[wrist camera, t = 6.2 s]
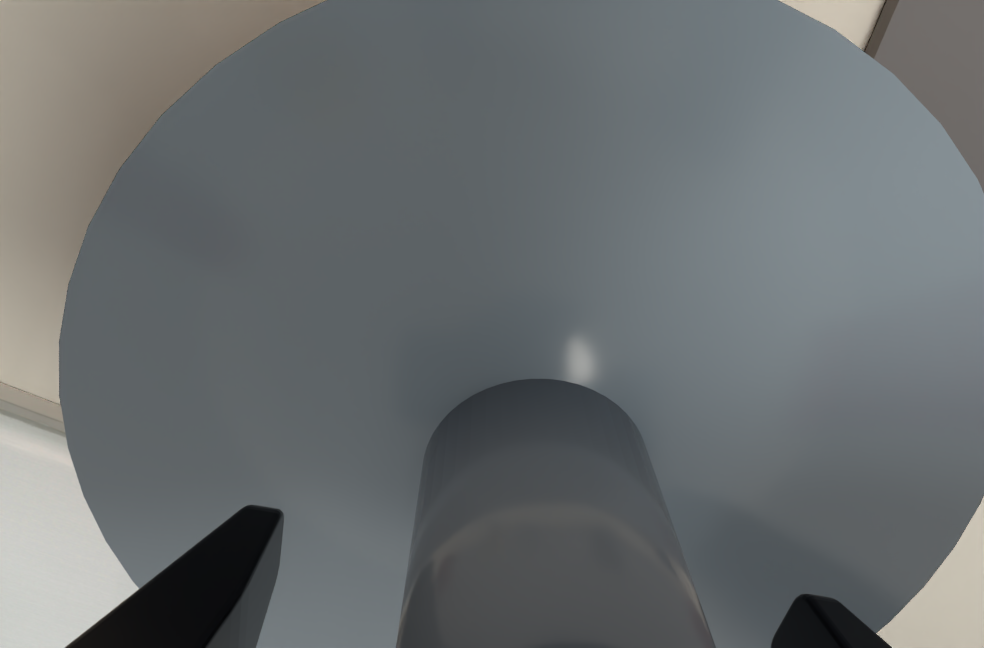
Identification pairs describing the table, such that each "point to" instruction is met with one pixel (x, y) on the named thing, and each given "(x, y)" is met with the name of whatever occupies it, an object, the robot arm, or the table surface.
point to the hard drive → (48, 533)
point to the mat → (939, 64)
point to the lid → (539, 325)
